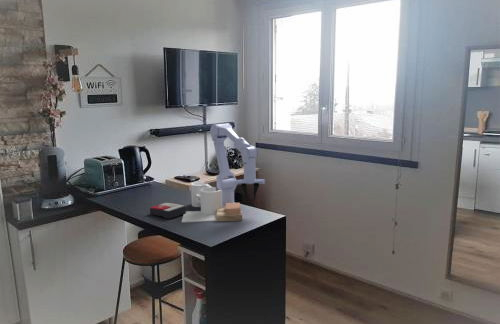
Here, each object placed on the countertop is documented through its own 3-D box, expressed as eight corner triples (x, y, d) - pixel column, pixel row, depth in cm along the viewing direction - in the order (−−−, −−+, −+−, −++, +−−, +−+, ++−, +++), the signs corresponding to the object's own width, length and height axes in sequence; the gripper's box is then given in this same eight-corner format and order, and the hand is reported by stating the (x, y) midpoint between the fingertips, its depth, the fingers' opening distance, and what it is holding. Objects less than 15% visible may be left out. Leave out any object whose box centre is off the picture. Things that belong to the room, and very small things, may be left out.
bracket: (188, 204, 218) (187, 183, 216) (205, 202, 223) (204, 181, 220) (205, 217, 196) (204, 193, 194) (223, 213, 201) (222, 190, 199)
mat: (184, 212, 203) (184, 211, 203) (217, 211, 204) (217, 210, 204) (181, 222, 187) (181, 221, 187) (216, 221, 188) (216, 220, 188)
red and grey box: (166, 201, 208) (185, 204, 199) (167, 209, 209) (186, 212, 200) (149, 207, 200) (168, 210, 191) (150, 215, 201) (169, 218, 191)
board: (217, 211, 204) (216, 206, 203) (240, 210, 205) (240, 205, 204) (216, 221, 188) (216, 216, 188) (242, 220, 189) (242, 215, 189)
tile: (225, 207, 201) (225, 203, 200) (239, 207, 201) (239, 202, 201) (226, 213, 191) (226, 208, 191) (240, 213, 192) (240, 208, 191)
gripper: (235, 173, 189) (235, 201, 191) (265, 172, 190) (265, 200, 192) (234, 170, 196) (235, 197, 198) (263, 169, 197) (264, 196, 199)
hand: (250, 198), depth 196 cm, fingers open, 3 cm apart
